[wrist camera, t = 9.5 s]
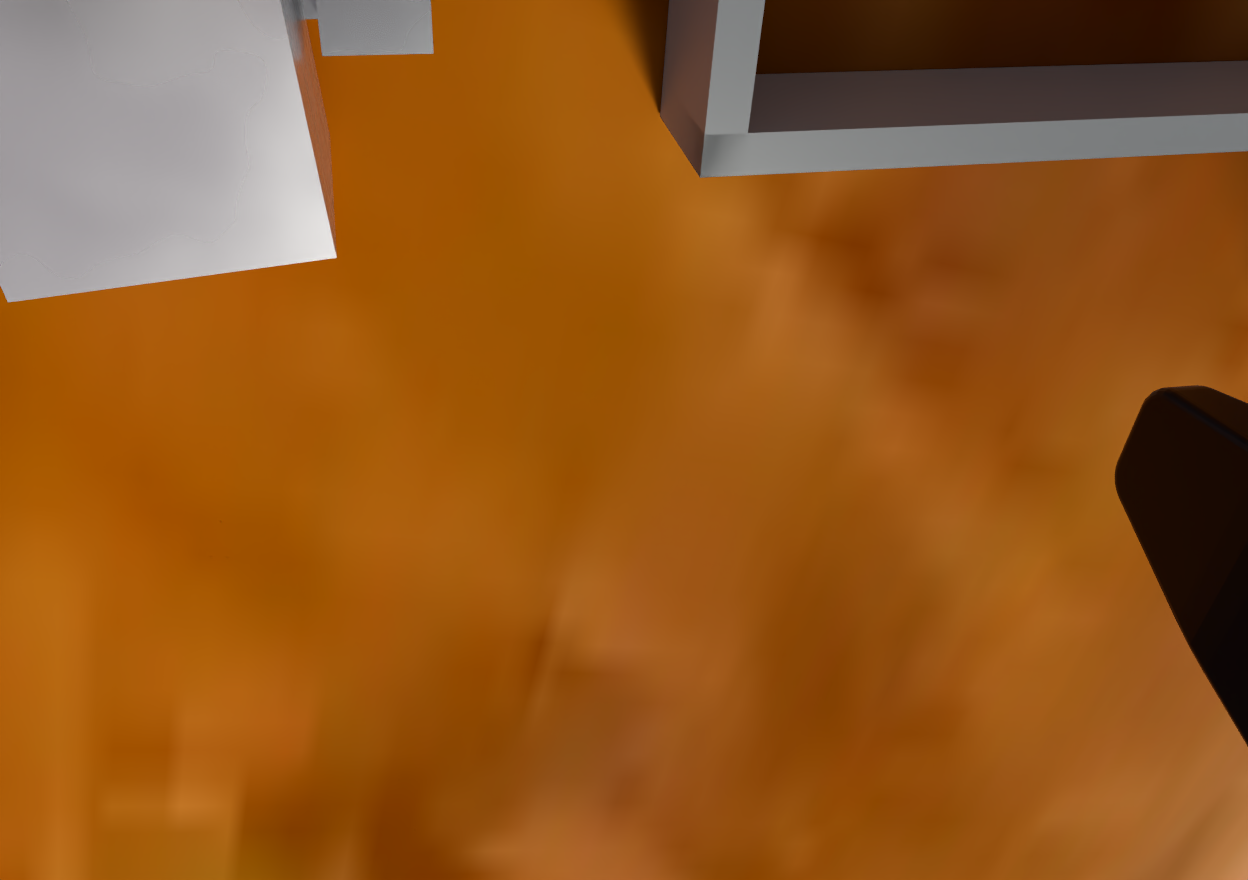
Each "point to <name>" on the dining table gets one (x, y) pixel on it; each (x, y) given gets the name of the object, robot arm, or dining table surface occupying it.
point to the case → (926, 107)
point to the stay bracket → (372, 26)
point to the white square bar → (158, 143)
